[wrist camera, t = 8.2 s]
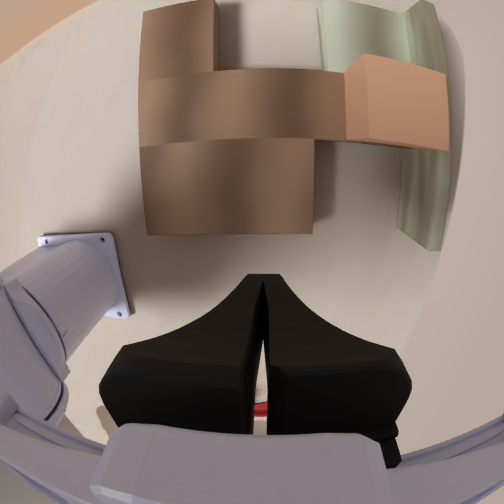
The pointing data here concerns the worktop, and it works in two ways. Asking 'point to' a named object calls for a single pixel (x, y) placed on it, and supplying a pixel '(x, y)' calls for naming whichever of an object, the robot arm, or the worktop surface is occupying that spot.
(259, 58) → the worktop surface
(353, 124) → the block
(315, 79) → the blocky structure
